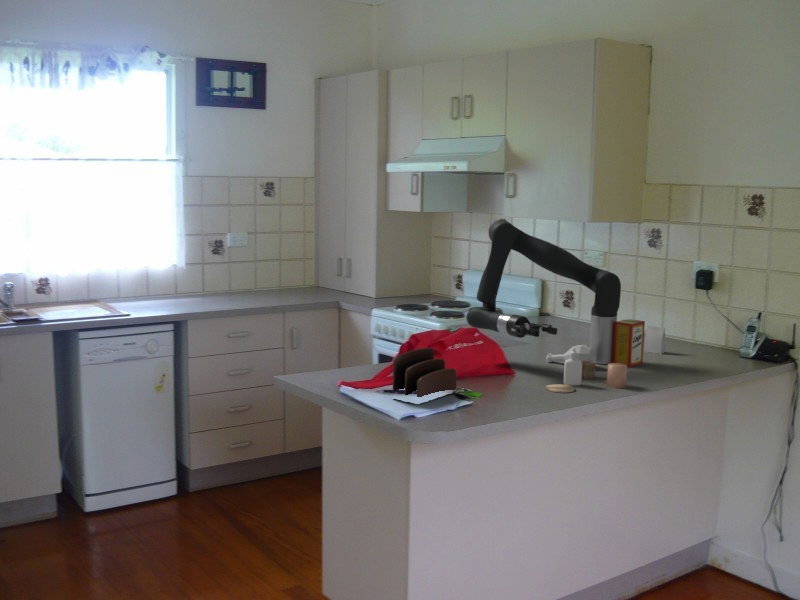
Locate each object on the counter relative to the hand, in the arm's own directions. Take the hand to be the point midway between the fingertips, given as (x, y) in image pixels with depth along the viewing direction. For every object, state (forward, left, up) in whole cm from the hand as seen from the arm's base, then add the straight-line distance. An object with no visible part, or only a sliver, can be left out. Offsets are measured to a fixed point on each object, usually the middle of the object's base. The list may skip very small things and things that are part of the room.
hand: (547, 332), depth 291 cm
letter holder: (+8, -48, -16) cm, 51 cm away
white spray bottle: (-15, +19, -16) cm, 29 cm away
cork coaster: (+15, -4, -15) cm, 22 cm away
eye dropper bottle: (+10, +4, -16) cm, 19 cm away
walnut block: (+2, +14, -16) cm, 21 cm away
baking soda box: (-10, +41, -16) cm, 45 cm away
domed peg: (+17, +16, -16) cm, 28 cm away
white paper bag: (-24, +64, -16) cm, 70 cm away
